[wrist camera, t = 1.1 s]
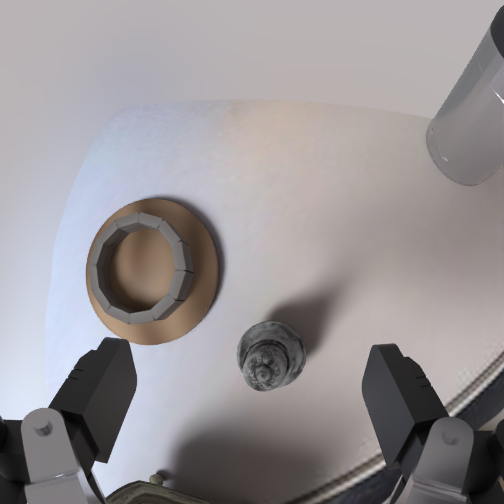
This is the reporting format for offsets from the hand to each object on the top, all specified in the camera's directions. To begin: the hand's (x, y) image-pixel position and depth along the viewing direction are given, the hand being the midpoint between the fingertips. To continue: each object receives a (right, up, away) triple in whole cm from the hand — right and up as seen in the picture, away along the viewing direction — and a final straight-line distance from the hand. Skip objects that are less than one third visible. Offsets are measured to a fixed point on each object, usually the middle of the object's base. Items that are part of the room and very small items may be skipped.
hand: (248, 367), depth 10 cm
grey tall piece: (+2, -6, +20) cm, 21 cm away
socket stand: (-11, +2, +23) cm, 25 cm away
